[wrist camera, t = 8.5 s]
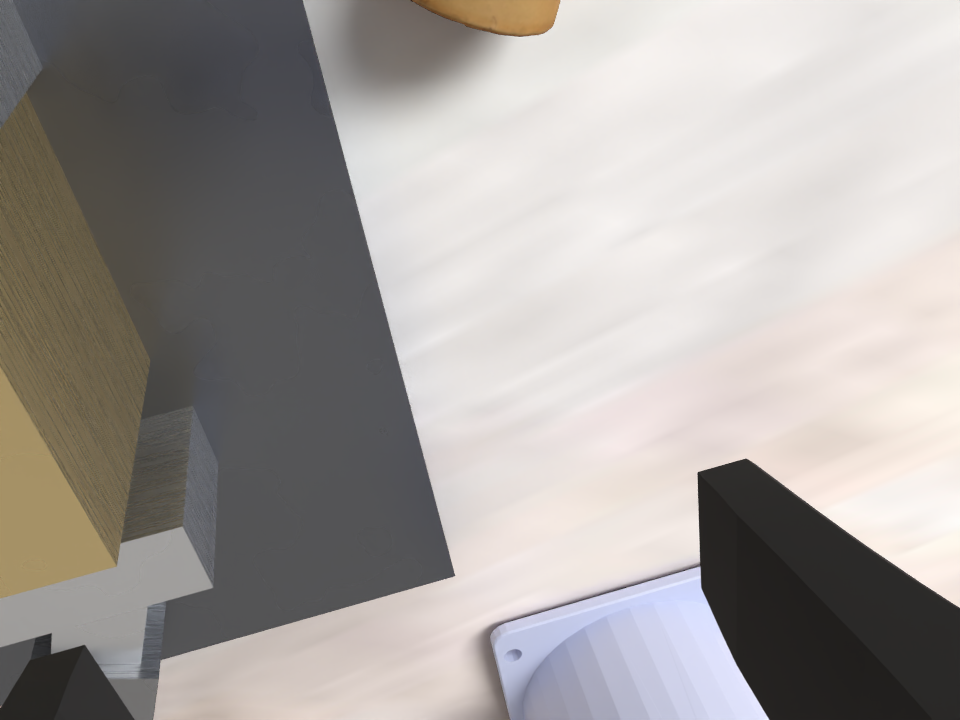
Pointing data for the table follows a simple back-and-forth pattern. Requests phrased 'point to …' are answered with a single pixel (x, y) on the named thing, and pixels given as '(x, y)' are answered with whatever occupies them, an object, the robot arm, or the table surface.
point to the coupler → (59, 375)
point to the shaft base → (223, 334)
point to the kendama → (498, 14)
